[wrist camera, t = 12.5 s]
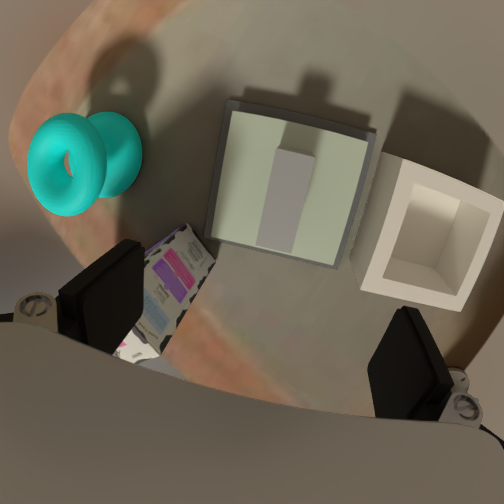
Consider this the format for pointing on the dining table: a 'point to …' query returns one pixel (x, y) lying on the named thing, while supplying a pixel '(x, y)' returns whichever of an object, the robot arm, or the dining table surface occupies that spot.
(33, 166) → the donuts
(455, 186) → the storage box
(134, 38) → the dining table surface
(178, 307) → the candy box
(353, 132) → the rubber mat
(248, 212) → the lid
